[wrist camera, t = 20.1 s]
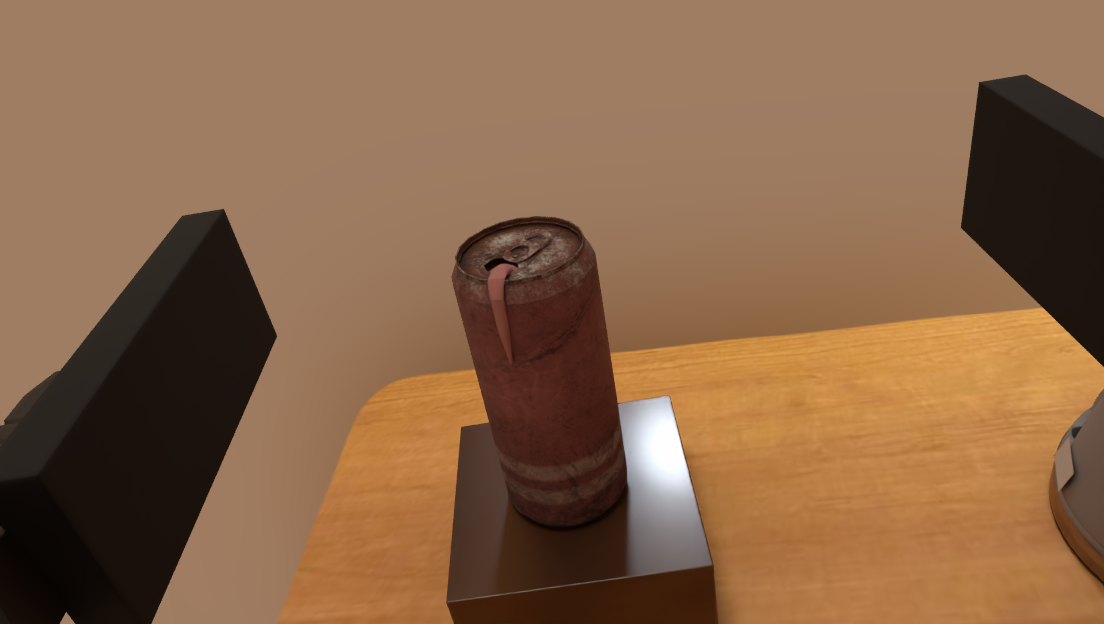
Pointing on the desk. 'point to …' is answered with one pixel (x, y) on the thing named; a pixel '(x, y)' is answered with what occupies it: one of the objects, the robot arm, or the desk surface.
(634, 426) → the walnut block
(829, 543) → the desk surface
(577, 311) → the can
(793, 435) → the desk surface
